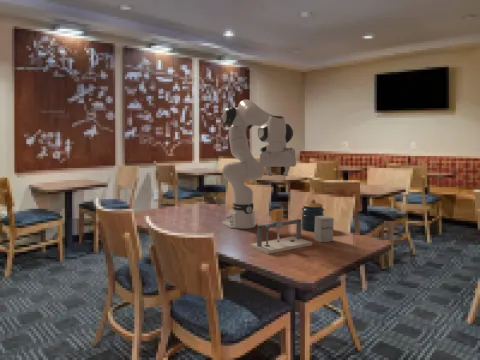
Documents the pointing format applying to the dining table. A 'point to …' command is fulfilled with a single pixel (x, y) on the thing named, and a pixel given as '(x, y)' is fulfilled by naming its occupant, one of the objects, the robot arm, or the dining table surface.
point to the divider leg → (277, 220)
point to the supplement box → (323, 228)
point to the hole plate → (283, 243)
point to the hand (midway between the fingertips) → (277, 175)
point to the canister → (311, 214)
